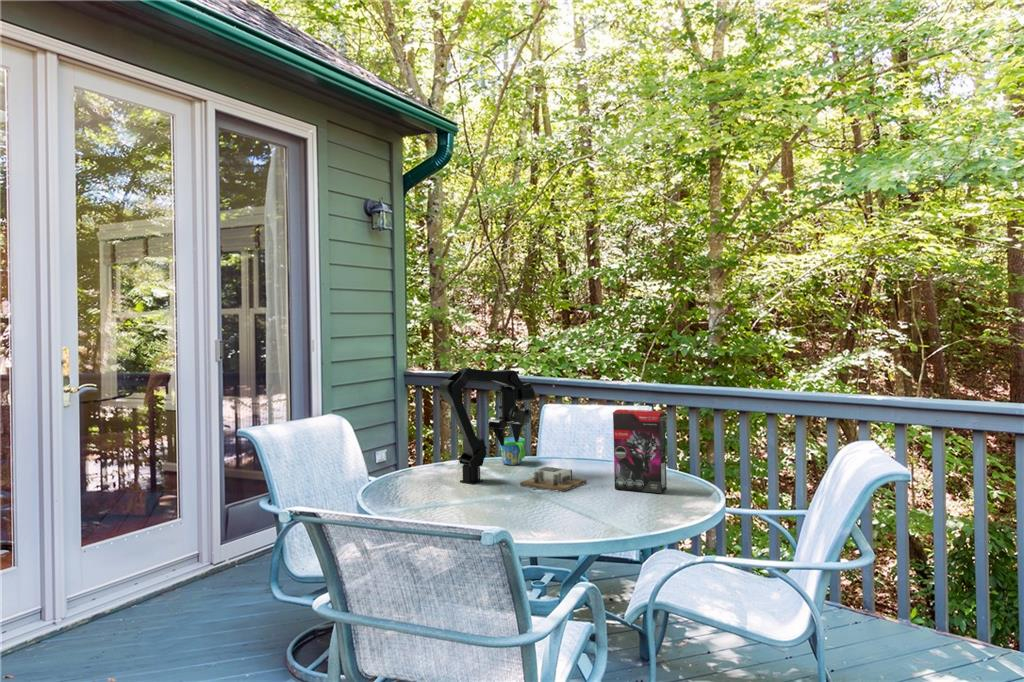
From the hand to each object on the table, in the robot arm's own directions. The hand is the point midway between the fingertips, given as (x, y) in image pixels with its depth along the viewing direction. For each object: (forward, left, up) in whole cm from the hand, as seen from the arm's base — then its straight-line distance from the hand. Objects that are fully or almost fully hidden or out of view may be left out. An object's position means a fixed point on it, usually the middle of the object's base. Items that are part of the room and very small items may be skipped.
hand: (509, 443), depth 272 cm
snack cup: (+18, +12, -12) cm, 25 cm away
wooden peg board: (-4, -22, -12) cm, 25 cm away
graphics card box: (+4, -52, -12) cm, 54 cm away
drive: (-4, -22, -11) cm, 25 cm away
